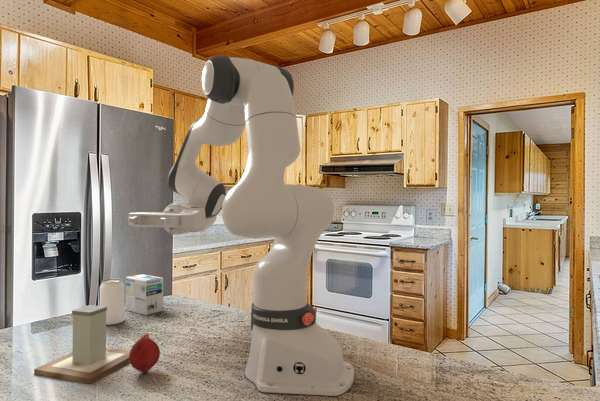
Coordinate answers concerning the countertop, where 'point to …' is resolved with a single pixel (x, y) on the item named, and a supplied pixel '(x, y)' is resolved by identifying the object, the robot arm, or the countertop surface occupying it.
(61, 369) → the board
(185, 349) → the countertop surface
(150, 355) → the onion
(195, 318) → the countertop surface
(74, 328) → the tea tin
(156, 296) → the light bulb box
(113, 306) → the can
